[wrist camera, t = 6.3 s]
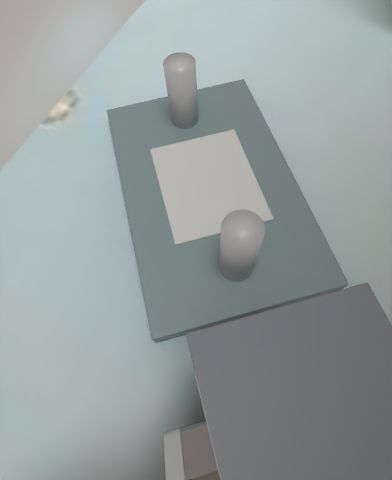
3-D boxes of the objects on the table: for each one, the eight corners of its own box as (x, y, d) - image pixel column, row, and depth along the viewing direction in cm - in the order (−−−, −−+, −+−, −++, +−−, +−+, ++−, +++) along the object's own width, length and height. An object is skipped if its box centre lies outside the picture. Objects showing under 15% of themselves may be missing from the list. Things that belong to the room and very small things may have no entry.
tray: (111, 121, 23) (86, 54, 18) (242, 91, 24) (249, 20, 19) (155, 342, 16) (133, 321, 11) (341, 290, 17) (388, 250, 12)
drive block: (199, 367, 15) (183, 334, 7) (289, 341, 16) (370, 281, 8) (239, 523, 13) (283, 745, 5) (346, 487, 13) (563, 636, 5)
